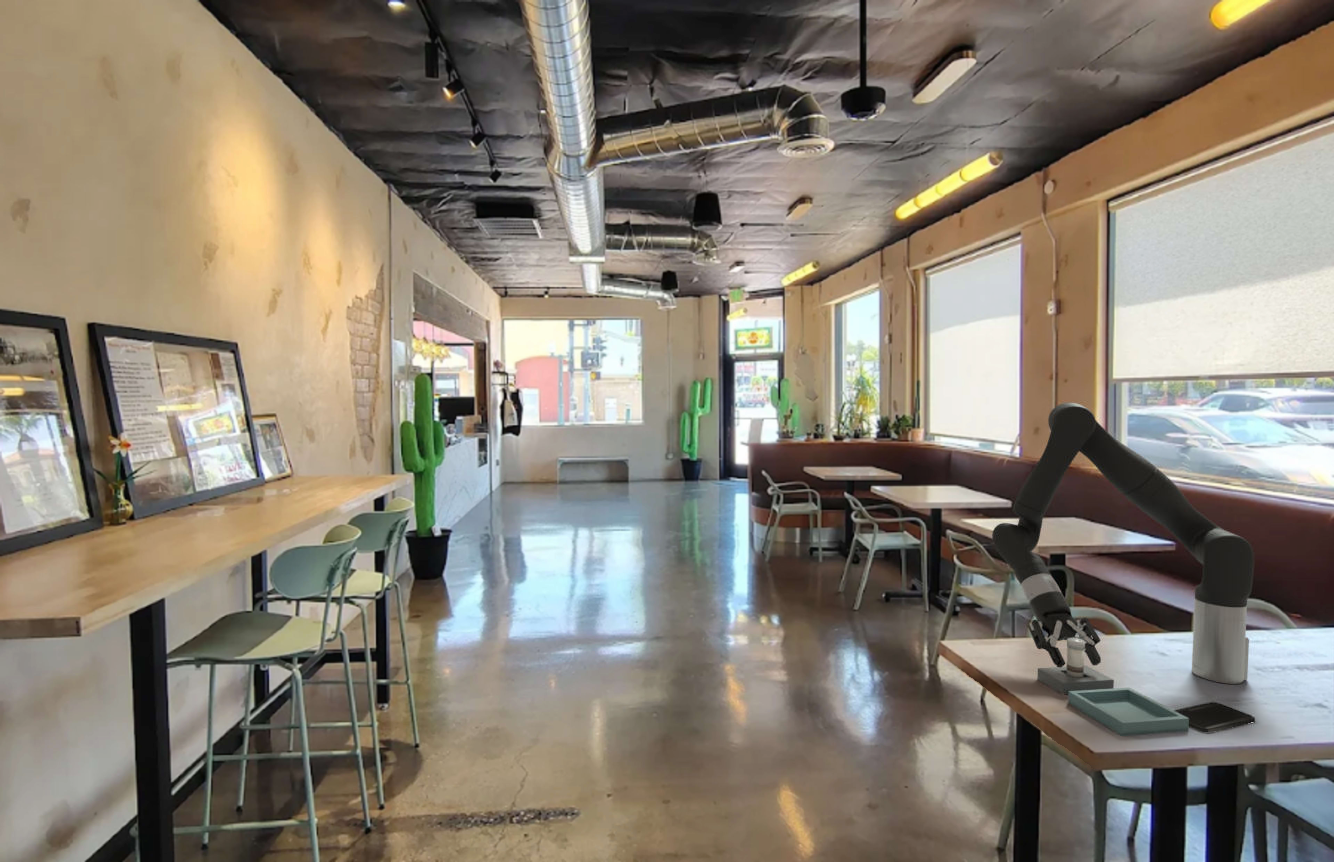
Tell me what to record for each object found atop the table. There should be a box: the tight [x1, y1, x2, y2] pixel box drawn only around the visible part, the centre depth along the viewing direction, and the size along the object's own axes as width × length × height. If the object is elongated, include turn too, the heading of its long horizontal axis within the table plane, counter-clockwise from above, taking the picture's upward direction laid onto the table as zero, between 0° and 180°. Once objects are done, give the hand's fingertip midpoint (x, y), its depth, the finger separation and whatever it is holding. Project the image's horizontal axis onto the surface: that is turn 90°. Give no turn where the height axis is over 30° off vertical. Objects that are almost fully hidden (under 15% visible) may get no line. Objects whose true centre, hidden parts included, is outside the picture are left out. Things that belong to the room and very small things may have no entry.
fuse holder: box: [1037, 665, 1115, 695], centre depth 150 cm, size 12×8×2 cm, turn 98°
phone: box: [1173, 701, 1256, 733], centre depth 135 cm, size 8×1×15 cm
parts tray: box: [1067, 687, 1190, 737], centre depth 136 cm, size 14×14×2 cm
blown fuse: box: [1066, 638, 1086, 678], centre depth 150 cm, size 3×3×10 cm
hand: (1079, 665), depth 149 cm, fingers open, 8 cm apart
